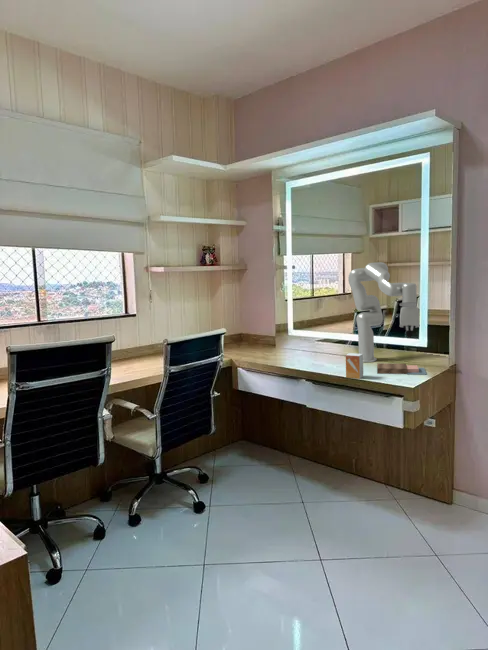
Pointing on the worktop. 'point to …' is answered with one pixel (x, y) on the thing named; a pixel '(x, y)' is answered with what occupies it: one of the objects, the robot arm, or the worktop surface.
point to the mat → (421, 372)
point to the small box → (354, 365)
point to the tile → (412, 368)
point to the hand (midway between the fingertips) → (409, 337)
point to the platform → (391, 368)
